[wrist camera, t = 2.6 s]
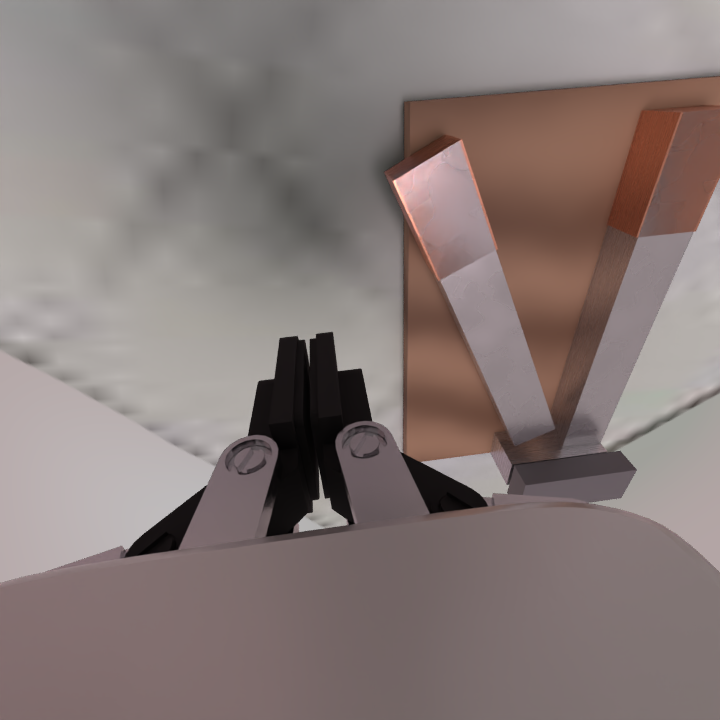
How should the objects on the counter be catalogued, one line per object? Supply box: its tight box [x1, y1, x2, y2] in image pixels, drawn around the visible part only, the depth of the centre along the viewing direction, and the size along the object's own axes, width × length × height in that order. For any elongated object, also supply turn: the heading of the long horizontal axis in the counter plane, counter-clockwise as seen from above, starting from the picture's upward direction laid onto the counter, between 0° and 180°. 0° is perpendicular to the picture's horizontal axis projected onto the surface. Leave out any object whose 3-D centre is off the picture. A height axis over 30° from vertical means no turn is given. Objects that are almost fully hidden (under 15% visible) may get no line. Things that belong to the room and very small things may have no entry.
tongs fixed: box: [490, 105, 720, 485], centre depth 22 cm, size 22×7×3 cm, turn 4°
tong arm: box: [384, 134, 555, 446], centre depth 21 cm, size 19×3×2 cm, turn 29°
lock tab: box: [507, 451, 637, 503], centre depth 26 cm, size 3×7×2 cm, turn 94°
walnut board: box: [403, 76, 720, 462], centre depth 23 cm, size 23×15×1 cm, turn 4°
